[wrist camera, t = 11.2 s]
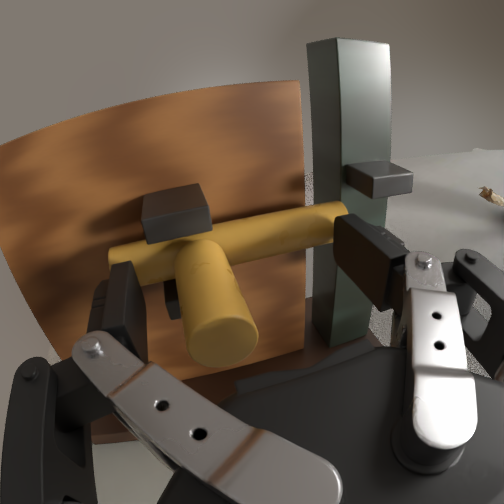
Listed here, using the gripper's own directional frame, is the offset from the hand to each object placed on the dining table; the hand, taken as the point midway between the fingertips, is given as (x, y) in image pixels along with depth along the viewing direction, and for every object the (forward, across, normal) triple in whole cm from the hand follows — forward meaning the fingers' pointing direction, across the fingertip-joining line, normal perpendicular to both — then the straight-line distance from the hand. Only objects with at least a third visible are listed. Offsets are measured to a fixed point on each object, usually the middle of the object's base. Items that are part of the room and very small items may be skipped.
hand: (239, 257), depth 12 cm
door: (+4, +1, +11) cm, 12 cm away
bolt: (-1, 0, +1) cm, 1 cm away
